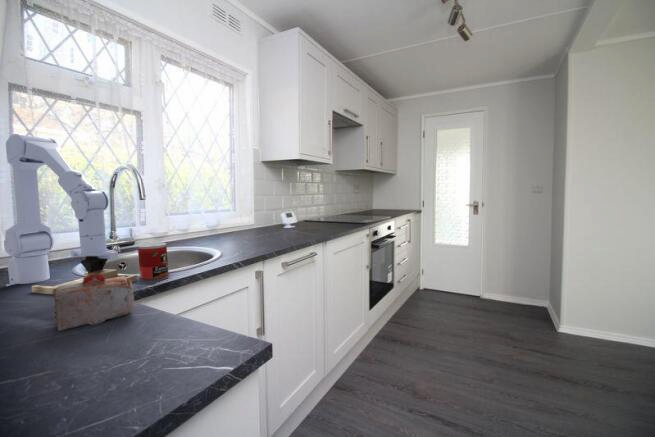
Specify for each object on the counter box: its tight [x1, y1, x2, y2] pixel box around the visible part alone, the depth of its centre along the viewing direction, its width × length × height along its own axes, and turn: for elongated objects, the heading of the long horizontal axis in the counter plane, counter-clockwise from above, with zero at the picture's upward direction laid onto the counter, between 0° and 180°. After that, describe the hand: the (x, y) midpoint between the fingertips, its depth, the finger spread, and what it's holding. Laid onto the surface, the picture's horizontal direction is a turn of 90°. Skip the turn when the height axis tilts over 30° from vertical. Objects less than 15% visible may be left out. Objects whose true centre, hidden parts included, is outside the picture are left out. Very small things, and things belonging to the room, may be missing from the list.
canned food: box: [137, 241, 169, 283], centre depth 98 cm, size 8×8×11 cm
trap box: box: [31, 271, 138, 295], centre depth 89 cm, size 19×15×3 cm
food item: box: [52, 275, 135, 332], centre depth 68 cm, size 14×8×10 cm, turn 132°
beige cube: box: [89, 268, 119, 279], centre depth 87 cm, size 4×4×4 cm
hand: (96, 283), depth 88 cm, fingers closed, pressing on beige cube
